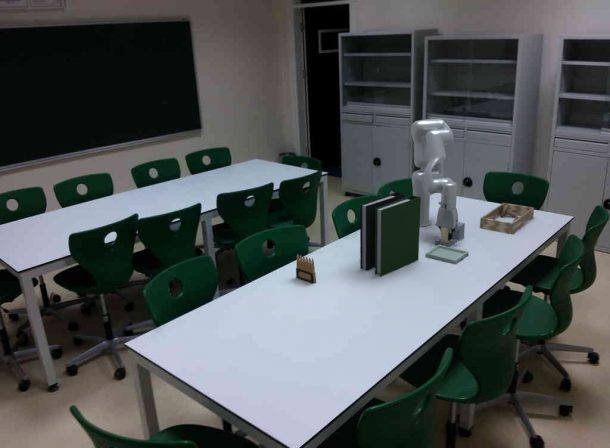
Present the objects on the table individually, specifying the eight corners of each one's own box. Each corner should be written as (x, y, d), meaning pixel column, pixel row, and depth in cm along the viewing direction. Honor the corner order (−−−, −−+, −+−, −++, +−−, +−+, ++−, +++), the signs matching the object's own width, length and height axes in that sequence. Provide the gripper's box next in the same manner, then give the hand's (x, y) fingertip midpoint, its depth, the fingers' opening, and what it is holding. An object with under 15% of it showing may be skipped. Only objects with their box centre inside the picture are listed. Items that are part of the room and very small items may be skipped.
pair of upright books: (382, 277, 244) (382, 210, 234) (358, 268, 255) (357, 204, 244) (418, 260, 261) (420, 197, 251) (394, 252, 272) (395, 191, 261)
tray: (425, 256, 265) (425, 253, 264) (438, 248, 275) (438, 244, 274) (455, 264, 255) (456, 260, 254) (468, 254, 265) (468, 251, 264)
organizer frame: (479, 228, 300) (480, 217, 298) (502, 212, 325) (503, 202, 323) (512, 234, 289) (513, 223, 287) (533, 217, 314) (534, 207, 312)
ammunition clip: (316, 282, 242) (315, 258, 238) (313, 284, 240) (312, 259, 236) (298, 276, 248) (297, 252, 245) (296, 277, 247) (294, 253, 243)
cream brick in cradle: (440, 244, 280) (441, 227, 277) (446, 240, 285) (447, 224, 282) (446, 245, 278) (446, 229, 275) (452, 241, 283) (452, 225, 280)
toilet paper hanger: (509, 234, 299) (514, 223, 295) (493, 228, 302) (498, 216, 298) (516, 219, 319) (521, 208, 315) (501, 213, 322) (506, 202, 318)
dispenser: (434, 244, 279) (434, 230, 277) (450, 234, 293) (450, 220, 290) (448, 247, 274) (449, 233, 272) (463, 237, 288) (464, 223, 285)
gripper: (430, 204, 277) (429, 238, 283) (460, 210, 267) (458, 244, 273) (437, 201, 282) (435, 233, 288) (466, 206, 272) (464, 240, 278)
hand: (446, 238), depth 281 cm, fingers closed on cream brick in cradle, 3 cm apart
